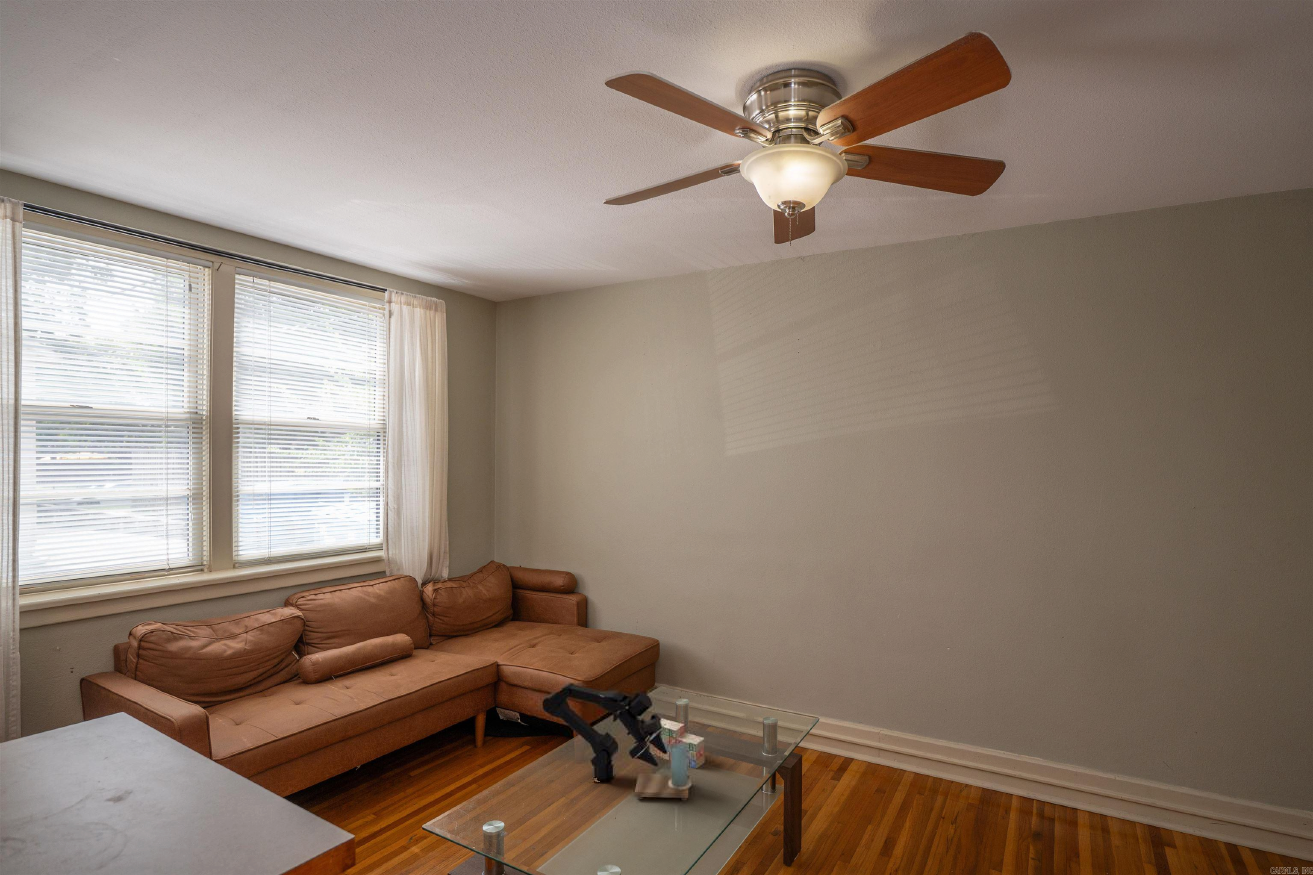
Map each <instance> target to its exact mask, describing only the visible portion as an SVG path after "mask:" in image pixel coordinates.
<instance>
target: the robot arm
mask: <svg viewBox="0 0 1313 875" xmlns="http://www.w3.org/2000/svg"><path fill="white" fill-rule="evenodd" d="M568 698H571V699H574V700H578V701H582V702H587V703H590V704H595V705H597V706H599V707H600V708H601V709H602V710H604V711H606V712H609V713H612V715H613V716H612V717H613V718H612V722H613V723H615V722H617V720H619V722H620V723H621V725H622V726H623V727H624V728H625V729H626V734H627V736H631V737H632V738H633V739H634V740H635V741H634V745H633V746H632V747H631V748H630V749H629V752H628V755H629V756H630V758H631V759H632V760H633V759H635V760H640V761H643V762H646V763H647V764H649V765H651V766H653V767H655V768H656V767H658V766H659V763H658V760H656V758H655V757H654V755H653V754H651V752H650V745H649V744H652V745H653V746H654V747H656V748H657V749H658V750H659V751H661V752H662V753H664V754H667V750H666V748H665V745H664V743H663V741H662V738H661V733H662V730H660V729H661V728H662V725H661V722H660V721H661V717H660V715H659V714H657V713H654V714H651V716H650V718H649V719H648V720H645V718H641V719H640V718H639V717H642V715H644V713H646V712H647V711H648V710H650V708H651V707H653V701H652V699H651V697H650V696H649V695H648V694H646V693H644V692H642V691H641V690H638V691H637V692H636V693H635V694H634V695H633V696H631V695H627V694H624V693H623V692H622V691H619V690H611V689H610V690H602V691H601V690H599V689H595V688H589V687H586V686H582V685H578V684H575V683H572V682H569V683H567V684H566V685H564V686H563V687H562V689H561V690H559V691H553V692H552V693H550V694H549V695H547V697H545V698H544V699H543V700H542V704H541V705H542V710H543V711H544V712H545V713H546V714H547V715H549V716H551V717H553V718H557V719H561V720H562V721H563V722H564V723H565V724H567V726H569V727H570V728H571V729H572V730H573V731H574V732H576V733H577V734H578V735H579V736H580V737H581V738H582V739H583V740H585V741H586V742H587V743H588V744H589V745H590V747H591V749H592V751H593V754H594V756H593V757H592V758H591V760H590V763H591V766H592V767H593V771H594V772H593V773H594V774H593V779H594V778H597V780H598V781H600V782H603V783H604V784H605V783H606V784H611V783H612V781H613V779H614V777H615V764H614V763H613V758H614V756H616V754H618V752H619V743H618V741H617V740H616V739H617V738H615V737H613V736H612V735H611V734H610V733H609V732H608V731H606V732H605V733H604V734H603V733H600V732H598V730H596V729H595V728H594V727H593V726H592V725H590V724H589V723H588V722H587V721H586V720H585V719H583V717H581V716H580V715H579V714H578V713H577V712H575V711H574V710H573V709H572V708H571V707H570V704H569V702H568V700H567V699H568ZM659 730H660V731H659ZM647 742H648V743H649V744H648V743H647ZM603 783H602V784H603Z"/></svg>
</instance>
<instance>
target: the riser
mask: <svg viewBox="0 0 1313 875" xmlns="http://www.w3.org/2000/svg"><path fill="white" fill-rule="evenodd" d="M687 779H688V783H687V785H686V786H683V787H676V786H673V785H672V784H671V774H659V773H658V774H653V773H649V774H647V773H639V774H638V776H637V780H636V785H635V790H634V798H635V797H636V799H637V800H639V801H640V800H643V799H644V798H645V797H646V798H673V799H674V798H675V799H677V798H678V799H681V801H682V802H685V801H687V800H688V798H689V790H690V788H691V786H692V781H691V779H690V775H689V774H687Z"/></svg>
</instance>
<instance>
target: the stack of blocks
mask: <svg viewBox="0 0 1313 875" xmlns="http://www.w3.org/2000/svg"><path fill="white" fill-rule="evenodd" d="M660 718H661V717H660ZM660 722H661V725H662V728H661V729H660V730H662V733H661V738H662V741H663V743H664V745H665V748H666V750H667V754H664V753H662V752H661V751H659V750H658V749H657V748H656V747H654V746H653V745H652V744H650V743H649V744H650V745H649V749H650V752H651V753H652V755H653V754H656V755H658V756H660V757H659V758H661V757H662V758H661V759H665V760H667V761H671V745H673V744H676V743H682V744H685V745H686V746H687V767H690V768H693V769H698V768H699V767H700V766H702V765H703V764H704V763H705V762H706V761H705V759H706V758H705V737H701V736H697V735H694V734H691V733H688V732H685V724H684V723H679V722H676V721H672V720H669V719H665V718H661V721H660ZM660 730H659V731H660ZM656 755H655V756H656ZM658 756H657V757H658Z"/></svg>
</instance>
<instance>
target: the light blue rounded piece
mask: <svg viewBox="0 0 1313 875" xmlns="http://www.w3.org/2000/svg"><path fill="white" fill-rule="evenodd" d="M670 772H671V773H670V775H671V784H672V785H673V786H676V787H683V786H686V785H687V783H688V779H687V775H688V766H687V746H686V745H685V744H682V743H676V744H673V745H671V760H670Z"/></svg>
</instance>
